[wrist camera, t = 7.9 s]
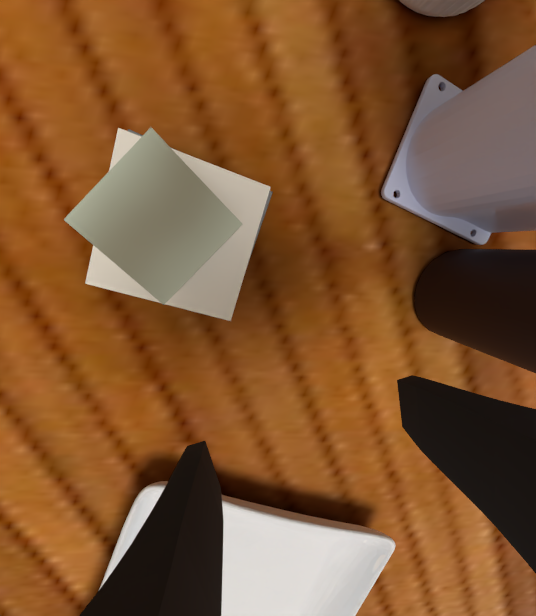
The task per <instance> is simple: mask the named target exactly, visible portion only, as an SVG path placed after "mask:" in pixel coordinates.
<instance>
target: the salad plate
mask: <svg viewBox="0 0 536 616" xmlns="http://www.w3.org/2000/svg"><path fill="white" fill-rule="evenodd" d="M167 483H168V481H160V482H155V483H153V484H150V485H148V486H146V487H145V488H143V490H142V491H141V492H140V493H139V494H138V496H137V498H136V499H135V501H134V503H133V505H132V507H131V510H130V512H129V514H128V516H127V518H126V521H125V523H124V526H123V528H122V531H121V534H120V536H119V539H118V541H117V544H116V547H115V549H114V552H113V555H112V557H111V560H110V563H109V565H108V568H107V571H106V573H105V576H104V578H103V581H102V583H101V586H100V588H101V587H102V586H103V584H104V583H105V581H106V580H107V579H108V577H109V576H110V574H111V573H112V572H113V570H114V569H115V567H116V566H117V565H118V563H119V562H120V560H121V559H122V557H123V556H124V554H125V553H126V551H127V550H128V548H129V547H130V545H131V544H132V542H133V540H134V539H135V537H136V536H137V534H138V532H139V531H140V529H141V527H142V526H143V524H144V523H145V521H146V519H147V518H148V516H149V514H150V513H151V511H152V509H153V508H154V506H155V504H156V502H157V501H158V499H159V497H160V495H161V494H162V492H163V490H164V488H165V486H166V485H167ZM222 507H223V521H224V523H223V569H222V608H221V616H355V615H356V613H357V612H358V610H359V608H360V607H361V605H362V603H363V602H364V600H365V598H366V597H367V595H368V593H369V592H370V590H371V588H372V587H373V585H374V583H375V582H376V580H377V578H378V576H379V575H380V573H381V571H382V570H383V568H384V566H385V565H386V563H387V562H388V560H389V558H390V556H391V555H392V553H393V551H394V549H395V542H394V541H393V539H392V538H390V537H389V536H387V535H385V534H383V533H381V532H379V531H377V530H374V529H371V528H367V527H364V526H360V525H355V524H349V523H344V522H338V521H333V520H328V519H323V518H318V517H313V516H308V515H303V514H299V513H295V512H290V511H286V510H282V509H277V508H273V507H269V506H265V505H261V504H256V503H252V502H248V501H244V500H240V499H237V498H233V497H229V496H225V495H222ZM100 588H99V590H100Z"/></svg>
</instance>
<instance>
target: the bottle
mask: <svg viewBox="0 0 536 616" xmlns="http://www.w3.org/2000/svg"><path fill="white" fill-rule="evenodd" d="M415 310H416V312H417V315H418V317H419V320H420V321H421V322H422V323H423V324H424V326H425V327H426V328H427V329H428V330H430V331H432V332H434V333H436V334H438V335H440V336H443V337H446V338H448V339H451V340H453V341H456V342H458V343H461V344H463V345H466V346H468V347H471V348H473V349H476V350H478V351H481V352H483V353H486V354H488V355H491V356H493V357H496V358H499V359H501V360H504V361H506V362H509V363H511V364H514V365H516V366H519V367H521V368H524V369H526V370H529V371H531V372H534V373H536V250H502V249H459V250H455V251H450V252H446V253H444V254H443V255H441V256H439V257H438V258H436V259H434V260H433V261H432V262H431V263H430V264H429V266H428V267H427V268H426V269H425V270H424V272H423V274H422V275H421V277H420V279H419V281H418V283H417V288H416V292H415Z"/></svg>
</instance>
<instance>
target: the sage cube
mask: <svg viewBox="0 0 536 616" xmlns="http://www.w3.org/2000/svg"><path fill="white" fill-rule="evenodd" d="M64 220H65V221H66V222H67V223H68V224H69V225H70V226H72V227H73V228H74V229H75V230H76V231H77V232H79V233H80V234H81V235H82V236H83V237H84V238H86V239H87V240H88V241H89V242H90V243H92V244H93V245H94V246H95V247H96V248H97V249H99V250H100V251H101V252H102V253H103V254H104V255H106V256H107V257H108V258H109V259H110V260H111V261H113V262H114V263H115V264H116V265H117V266H118V267H120V268H121V269H122V270H123V271H124V272H126V273H127V274H128V275H129V276H130V277H131V278H133V279H134V280H135V281H136V282H137V283H138V284H140V285H141V286H142V287H143V288H144V289H145V290H147V291H148V292H149V293H150V294H151V295H152V296H154V297H155V298H156V299H157V300H158V301H159V302H161V303H162V304H163V305H164V304H165V303H166V302H167V301H168V300H169V299H170V298H171V297H172V296H173V295H174V294H175V293H176V292H177V291H178V290H179V289H180V288H181V287H182V286H183V285H184V284H185V283H186V282H187V281H188V280H189V279H190V278H191V277H192V276H193V275H194V274H195V273H196V272H197V271H198V270H199V269H200V268H201V267H202V266H203V265H204V264H205V263H206V262H207V261H208V260H209V259H210V258H211V257H212V255H213V254H214V253H215V252H216V251H217V250H218V249H219V248H220V247H221V246H222V245H223V244H224V243H225V242H226V241H227V240H228V239H229V238H230V237H231V236H232V235H233V234H234V233H235V232H236V231H237V230H238V229H239V228H240V226H241V225H242V223H241V222H240V221H239V220H238V218H237V217H236V216H235V215H234V214H233V213H232V212H231V211H230V210H229V209H228V208H227V207H226V206H225V205H224V204H223V203H222V202H221V201H220V200H219V198H218V197H217V196H216V195H215V194H214V193H213V192H212V191H211V190H210V189H209V188H208V187H207V186H206V185H205V184H204V183H203V182H202V181H201V179H200V178H199V177H198V176H197V175H196V174H195V173H194V172H193V171H192V170H191V169H190V168H189V167H188V166H187V165H186V164H185V163H184V162H183V160H182V159H181V158H180V157H179V156H178V155H177V154H176V153H175V152H174V151H173V150H172V149H171V148H170V147H169V146H168V145H167V144H166V143H165V141H164V140H163V139H162V138H161V137H160V136H159V135H158V134H157V133H156V132H155V131H154V130H153V129H152V128H150V129H149V130H148V131H147V132H146V133H145V134H144V135H143V136H142V137H141V138H140V139H139V140H138V141H137V142H136V143H135V144H134V146H133V147H132V148H131V149H130V150H129V151H128V152H127V153H126V154H125V155H124V156H123V157H122V158H121V159H120V160H119V161H118V162H117V164H116V165H115V166H114V167H113V168H112V169H111V170H110V171H109V172H108V173H107V174H106V175H105V176H104V177H103V178H102V179H101V180H100V182H99V183H98V184H97V185H96V186H95V187H94V188H93V189H92V190H91V191H90V192H89V193H88V194H87V195H86V196H85V197H84V198H83V200H82V201H81V202H80V203H79V204H78V205H77V206H76V207H75V208H74V209H73V210H72V211H71V212H70V213H69V214H68V215H67V217H66V218H65V219H64Z"/></svg>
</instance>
